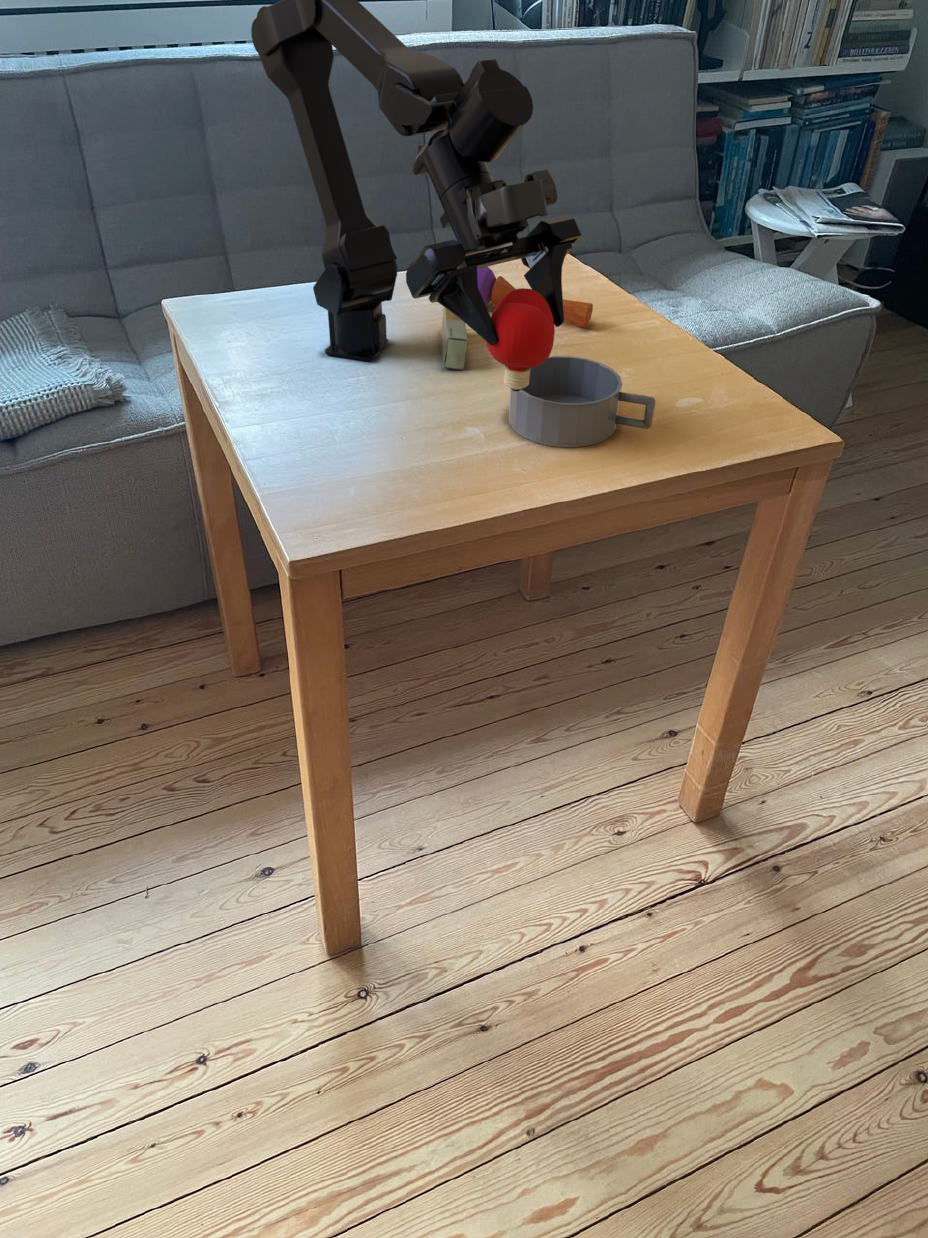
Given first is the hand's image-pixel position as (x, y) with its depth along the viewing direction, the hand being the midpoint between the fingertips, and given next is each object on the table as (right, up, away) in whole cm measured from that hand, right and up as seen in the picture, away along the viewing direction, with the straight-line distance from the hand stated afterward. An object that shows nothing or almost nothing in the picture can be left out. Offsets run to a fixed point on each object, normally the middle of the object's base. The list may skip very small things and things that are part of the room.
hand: (528, 333), depth 94 cm
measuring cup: (+7, -6, +13) cm, 16 cm away
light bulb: (-1, -4, +5) cm, 7 cm away
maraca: (+2, +14, +38) cm, 41 cm away
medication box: (-8, +6, +28) cm, 30 cm away
